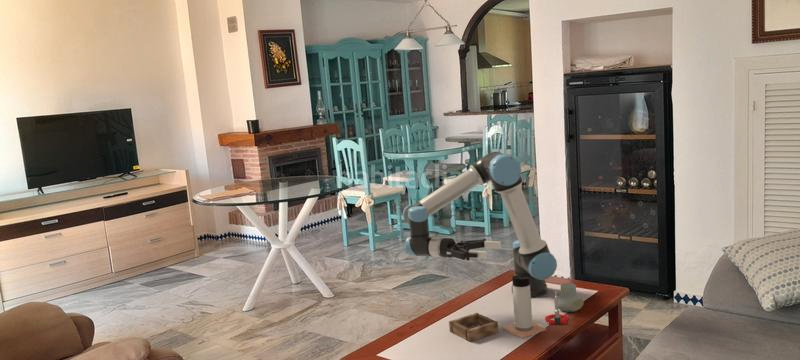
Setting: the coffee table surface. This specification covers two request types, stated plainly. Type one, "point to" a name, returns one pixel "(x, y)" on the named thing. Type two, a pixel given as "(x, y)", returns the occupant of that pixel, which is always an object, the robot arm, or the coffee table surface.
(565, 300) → the air freshener
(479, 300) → the coffee table surface
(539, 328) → the terracotta tile
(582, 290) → the coffee table surface
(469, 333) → the wooden tray
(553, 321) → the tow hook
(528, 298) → the travel mug
